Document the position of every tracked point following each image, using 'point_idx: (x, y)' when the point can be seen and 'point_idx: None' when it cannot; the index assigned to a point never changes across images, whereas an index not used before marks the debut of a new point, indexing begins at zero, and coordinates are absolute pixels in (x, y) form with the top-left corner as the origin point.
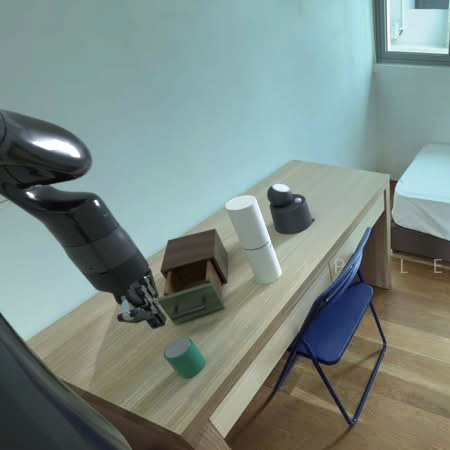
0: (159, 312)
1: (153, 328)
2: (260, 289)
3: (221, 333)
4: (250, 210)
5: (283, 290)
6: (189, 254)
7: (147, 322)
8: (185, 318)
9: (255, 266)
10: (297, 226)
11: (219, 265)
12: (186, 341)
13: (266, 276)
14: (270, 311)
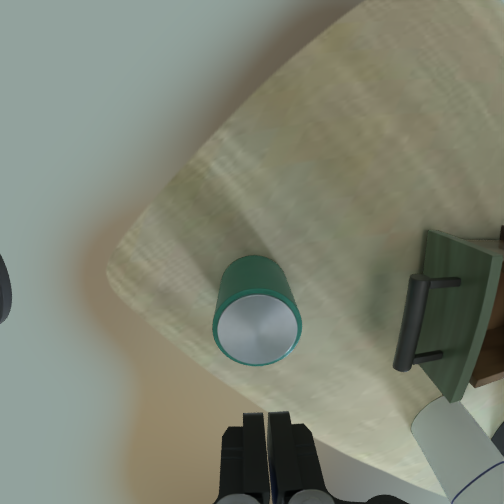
0: (272, 499)
1: (228, 429)
2: (409, 408)
3: (329, 346)
4: None
5: (372, 446)
6: None
7: (220, 472)
8: (427, 264)
9: (446, 447)
10: (498, 447)
11: None
12: (271, 353)
13: (422, 435)
14: (330, 432)
